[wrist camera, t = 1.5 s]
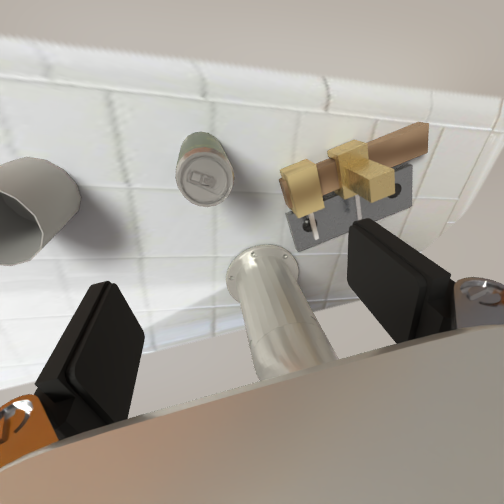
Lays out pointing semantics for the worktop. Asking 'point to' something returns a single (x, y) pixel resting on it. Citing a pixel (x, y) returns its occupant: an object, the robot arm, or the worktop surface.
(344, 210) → the hole plate
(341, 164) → the slider head
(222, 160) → the green soda can
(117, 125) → the worktop surface
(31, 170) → the cup
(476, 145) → the worktop surface
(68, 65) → the worktop surface
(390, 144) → the rail
